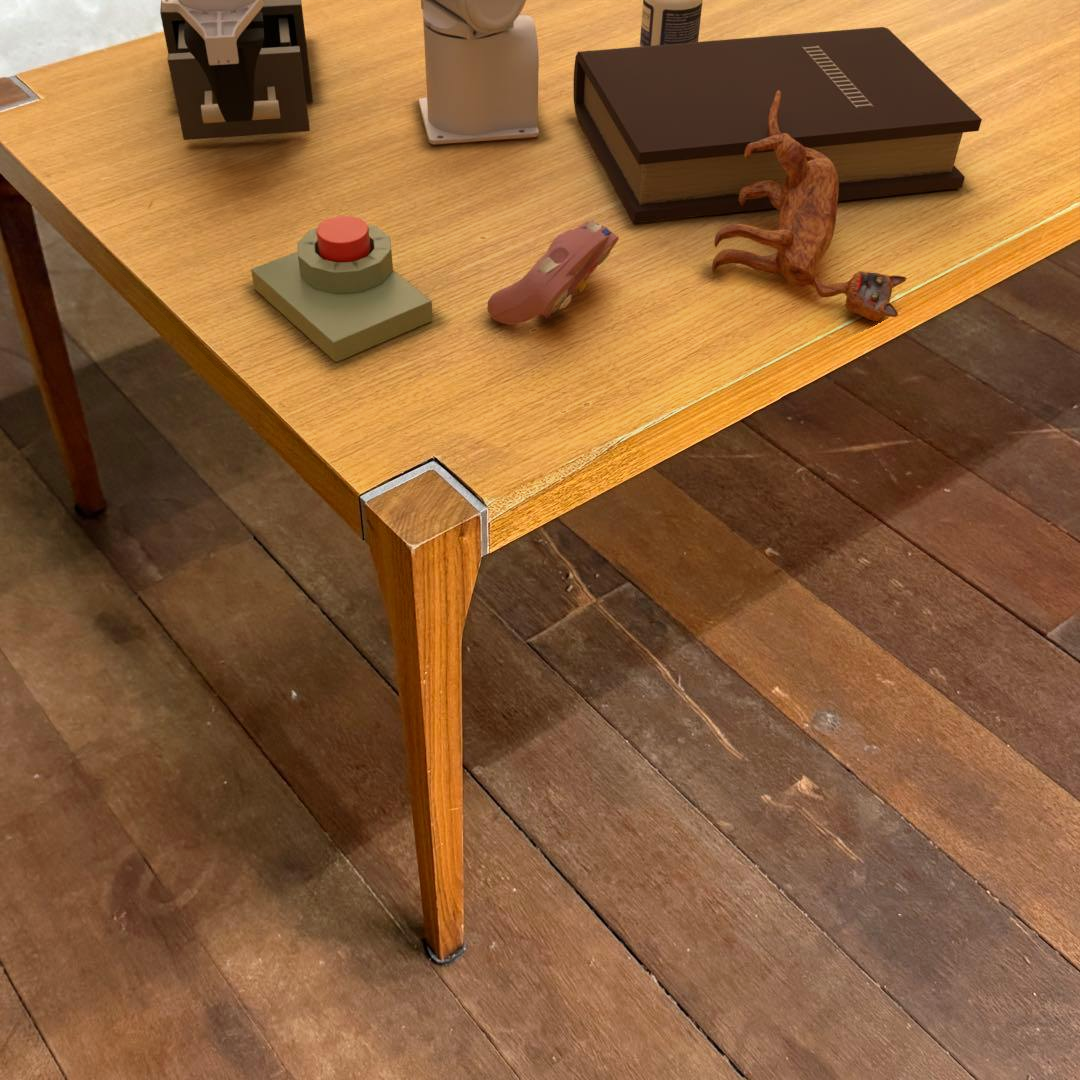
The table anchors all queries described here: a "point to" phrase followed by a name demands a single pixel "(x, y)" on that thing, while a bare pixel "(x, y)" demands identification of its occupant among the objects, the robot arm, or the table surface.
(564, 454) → the table surface
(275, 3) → the cabinet
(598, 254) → the pink pronged piece
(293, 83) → the drawer
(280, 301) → the olive button base
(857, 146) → the book
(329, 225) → the button
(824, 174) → the cat figurine
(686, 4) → the pill bottle
